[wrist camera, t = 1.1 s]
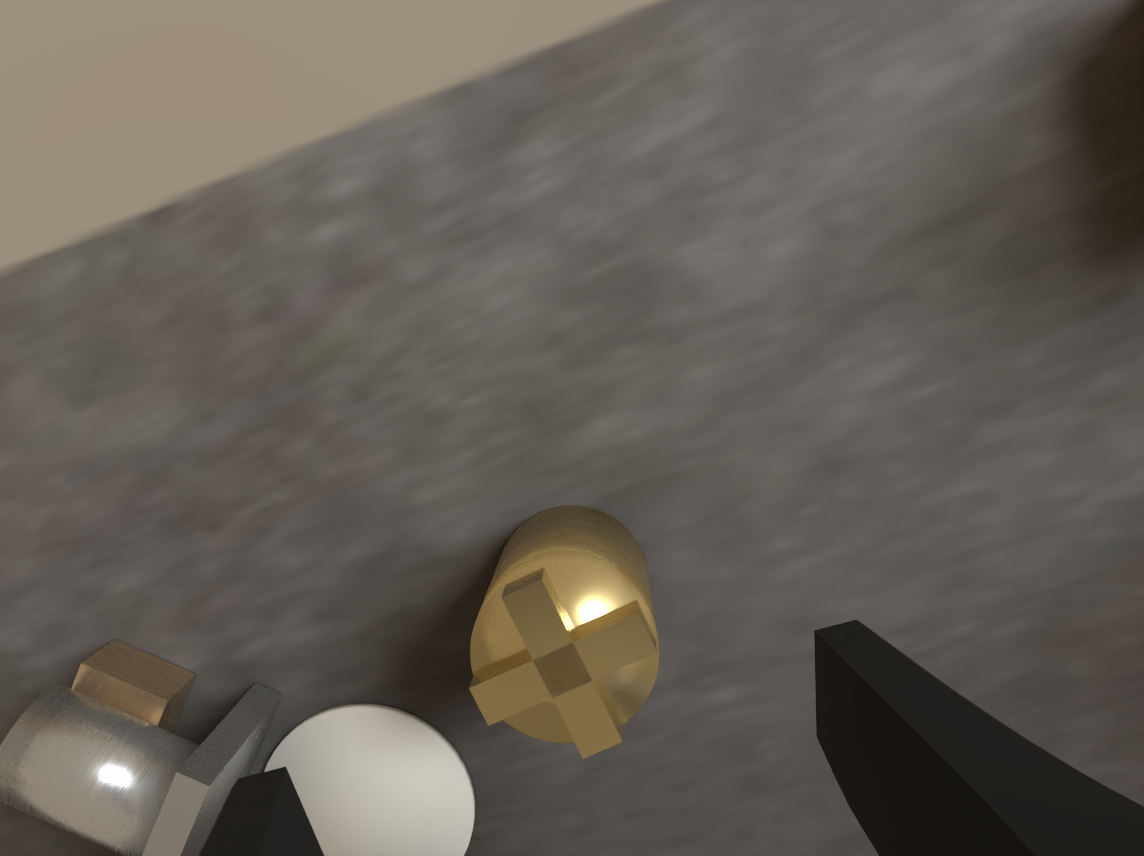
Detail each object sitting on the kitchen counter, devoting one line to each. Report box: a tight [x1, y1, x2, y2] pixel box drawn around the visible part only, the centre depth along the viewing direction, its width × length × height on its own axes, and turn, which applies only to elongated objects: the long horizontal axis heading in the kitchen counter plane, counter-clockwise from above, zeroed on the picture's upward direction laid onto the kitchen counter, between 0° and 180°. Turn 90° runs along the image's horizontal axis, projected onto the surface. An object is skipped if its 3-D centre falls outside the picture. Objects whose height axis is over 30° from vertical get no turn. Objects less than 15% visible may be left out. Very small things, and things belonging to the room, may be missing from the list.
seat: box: [264, 703, 475, 856], centre depth 25 cm, size 6×6×1 cm
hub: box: [469, 505, 659, 759], centre depth 21 cm, size 4×4×6 cm
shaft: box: [0, 639, 283, 856], centre depth 22 cm, size 5×4×5 cm
